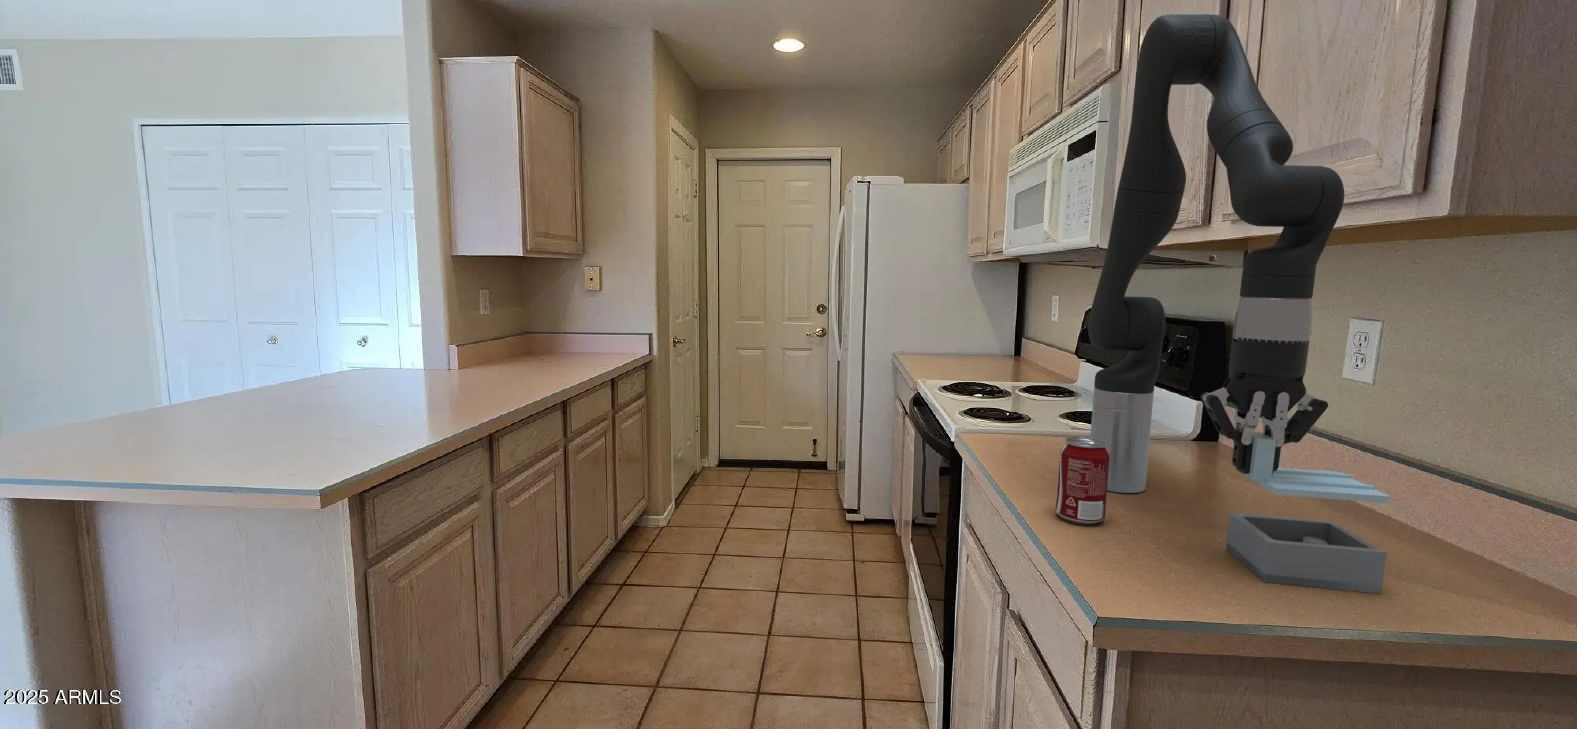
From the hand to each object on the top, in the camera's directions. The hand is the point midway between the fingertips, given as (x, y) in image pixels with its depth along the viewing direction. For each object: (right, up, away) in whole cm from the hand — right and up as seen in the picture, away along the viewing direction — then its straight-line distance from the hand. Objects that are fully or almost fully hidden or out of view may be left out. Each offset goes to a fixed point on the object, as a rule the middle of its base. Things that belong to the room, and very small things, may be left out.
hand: (1253, 472), depth 80 cm
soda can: (-14, -10, +17) cm, 24 cm away
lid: (+6, -1, -1) cm, 6 cm away
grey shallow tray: (+6, -12, 0) cm, 13 cm away
